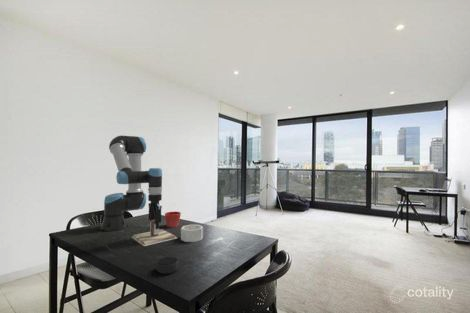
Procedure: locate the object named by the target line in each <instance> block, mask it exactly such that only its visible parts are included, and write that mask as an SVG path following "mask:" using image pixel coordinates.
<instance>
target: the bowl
mask: <svg viewBox="0 0 470 313" xmlns="http://www.w3.org/2000/svg"><path fill="white" fill-rule="evenodd" d="M203 238H204V227H203V226H202V225H200V224H188V225H186V224H185V225H183V226H182V227H181V228H180V241H183V242H185V243H195V242H200V241H201V240H202V239H203Z"/></svg>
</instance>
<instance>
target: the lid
mask: <svg viewBox="0 0 470 313" xmlns="http://www.w3.org/2000/svg"><path fill="white" fill-rule="evenodd" d="M154 223H155V220H151V233H150V231H148V232H142V233H137V234H133V237H134V238H135V239H137V240H138V241H140V242H141V243H142V244H144V245H147V246H149V245H148V244H151V245H153V244H152V243H155V244H158V243H157V242H160V243H162V242H161V241H164V242H166V241H165V240H168V241H170V240H169V239H172V240H174V239H173V238H175V237H177V236H176V235H175V234H172V233H171V232H169V231H166V230H164V229H162V228H161V229H159V234H156V235H154Z"/></svg>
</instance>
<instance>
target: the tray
mask: <svg viewBox="0 0 470 313" xmlns="http://www.w3.org/2000/svg"><path fill="white" fill-rule="evenodd" d="M131 238H132V239H133V240H134V241H136V242H137V243H139V244H140V245H142V246H143V247H147V246H151V245H156V244H159V243H163V242H167V241H172V240H176V239H178V237H177V236H176V237H175V238H173V239H169V240H165V241H161V242H157V243H152V244H148V245H144V244H142V243H141V242H140V241H138V240H137V239H135V238H134V236H131Z"/></svg>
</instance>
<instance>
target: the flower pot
mask: <svg viewBox="0 0 470 313" xmlns="http://www.w3.org/2000/svg"><path fill="white" fill-rule="evenodd" d="M181 214H182V213H181V212H180V211H167V212H165V213H164V217H165V224H166V227H167V228H177V227H179V224H180V220H181Z"/></svg>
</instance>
